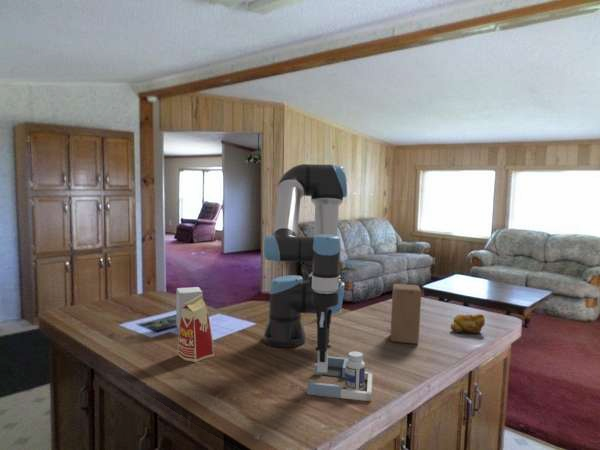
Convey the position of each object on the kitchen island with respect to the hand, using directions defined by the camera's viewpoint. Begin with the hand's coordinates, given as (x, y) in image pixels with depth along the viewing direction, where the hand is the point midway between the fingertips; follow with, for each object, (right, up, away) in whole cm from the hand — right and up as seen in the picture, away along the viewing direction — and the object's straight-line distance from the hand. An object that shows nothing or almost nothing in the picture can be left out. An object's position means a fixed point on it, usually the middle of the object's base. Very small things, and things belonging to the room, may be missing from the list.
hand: (322, 371), depth 129 cm
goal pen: (+10, -4, -2) cm, 11 cm away
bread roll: (+60, -1, +52) cm, 80 cm away
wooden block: (+33, -1, +40) cm, 52 cm away
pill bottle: (+9, -4, -2) cm, 10 cm away
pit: (+4, -3, +8) cm, 10 cm away
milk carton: (-41, -1, +18) cm, 44 cm away
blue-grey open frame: (+2, -3, +3) cm, 5 cm away
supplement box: (-49, +2, +47) cm, 68 cm away
